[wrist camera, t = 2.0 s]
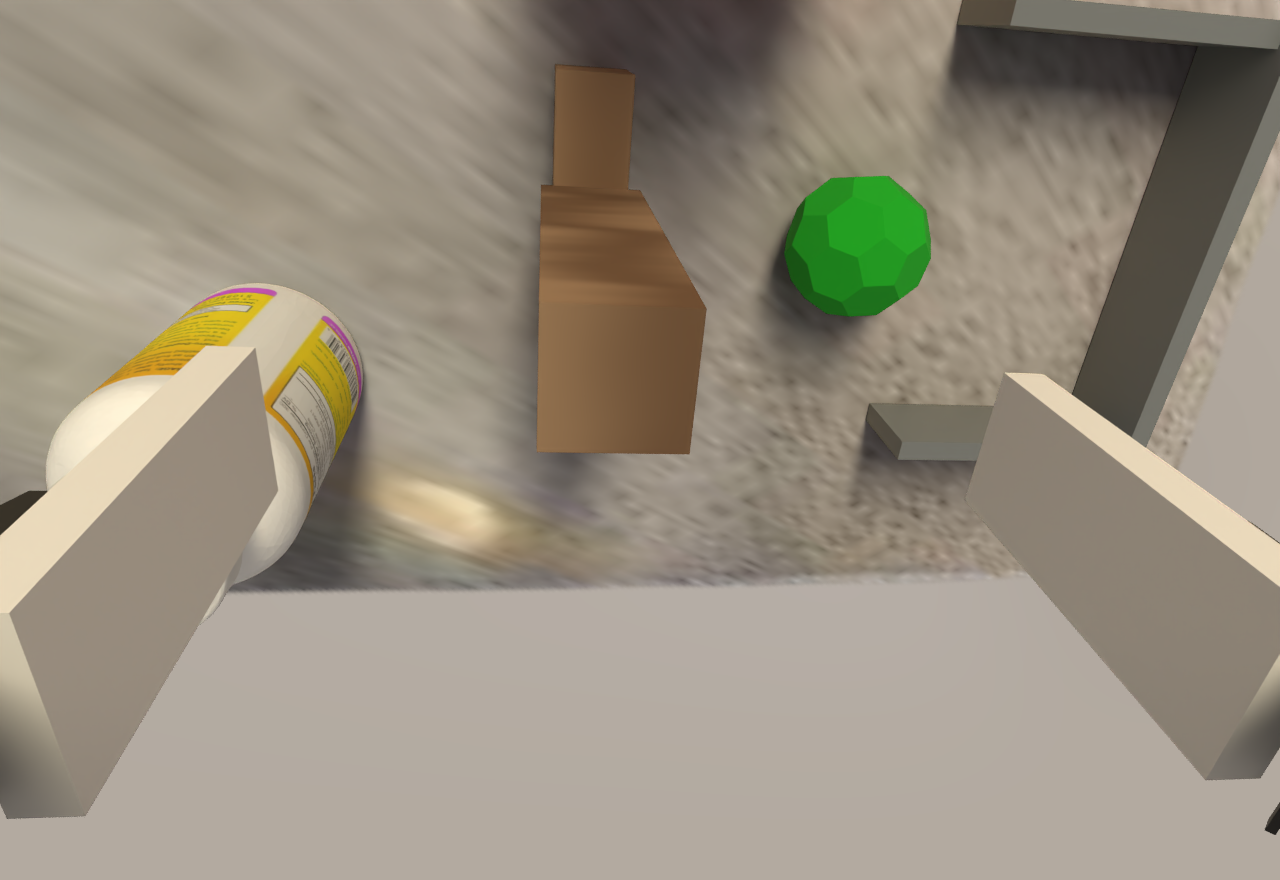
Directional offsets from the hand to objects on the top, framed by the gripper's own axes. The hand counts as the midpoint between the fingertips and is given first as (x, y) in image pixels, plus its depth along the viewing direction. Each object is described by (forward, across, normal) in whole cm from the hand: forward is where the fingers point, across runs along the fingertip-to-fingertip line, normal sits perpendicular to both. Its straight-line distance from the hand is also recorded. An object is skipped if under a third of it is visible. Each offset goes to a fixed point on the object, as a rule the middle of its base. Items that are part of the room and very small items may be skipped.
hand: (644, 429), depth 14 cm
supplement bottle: (+17, -12, -6) cm, 22 cm away
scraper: (+17, 0, 0) cm, 17 cm away
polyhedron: (+17, +9, 0) cm, 19 cm away
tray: (+17, +17, 0) cm, 24 cm away
